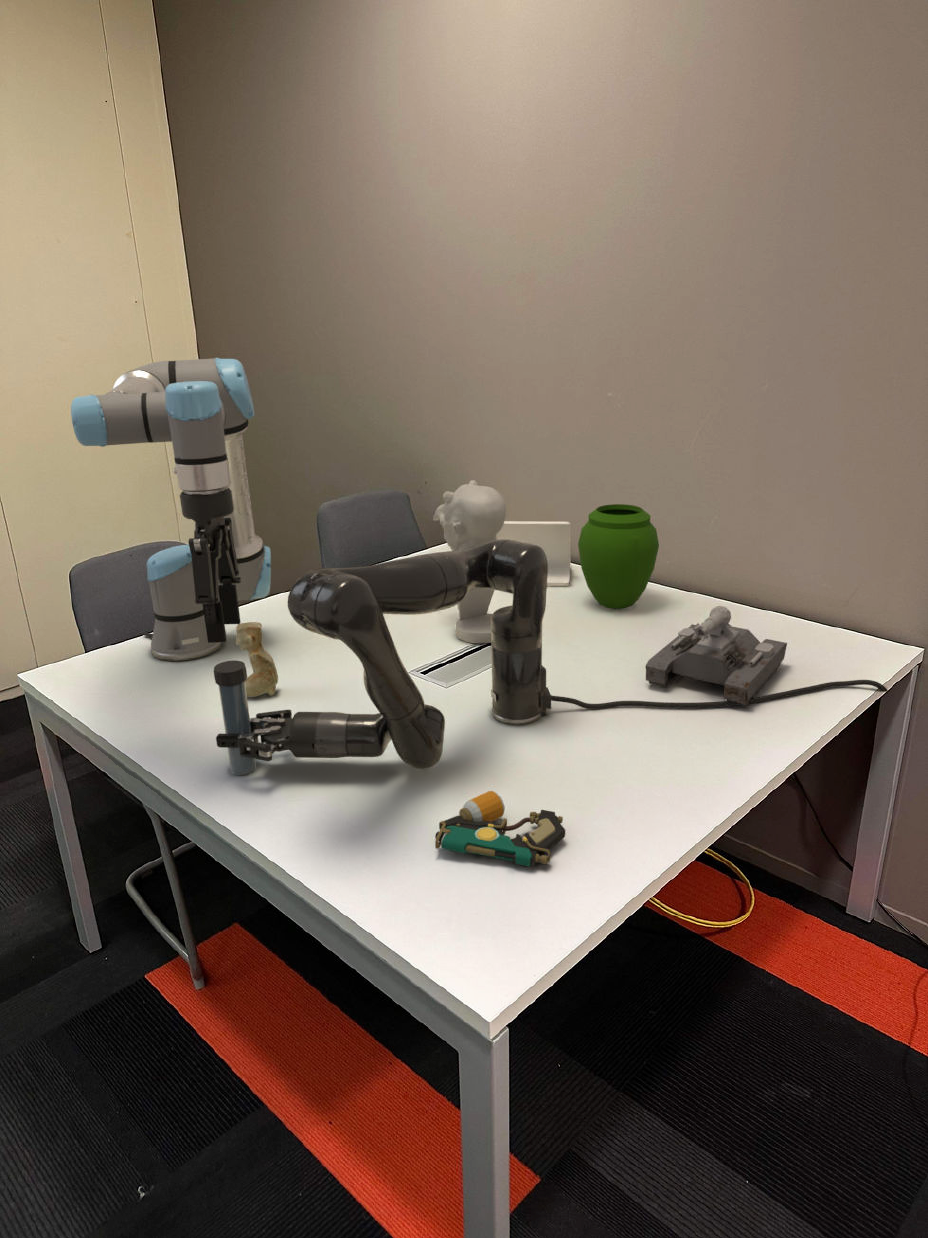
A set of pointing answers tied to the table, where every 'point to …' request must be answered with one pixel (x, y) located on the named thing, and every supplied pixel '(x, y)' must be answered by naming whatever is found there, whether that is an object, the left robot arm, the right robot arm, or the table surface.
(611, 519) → the vase
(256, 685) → the sculpture
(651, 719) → the table surface
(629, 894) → the table surface
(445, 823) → the spray gun
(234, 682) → the lid
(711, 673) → the toy
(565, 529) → the tablet stand
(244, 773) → the bottle
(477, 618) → the bust sculpture
